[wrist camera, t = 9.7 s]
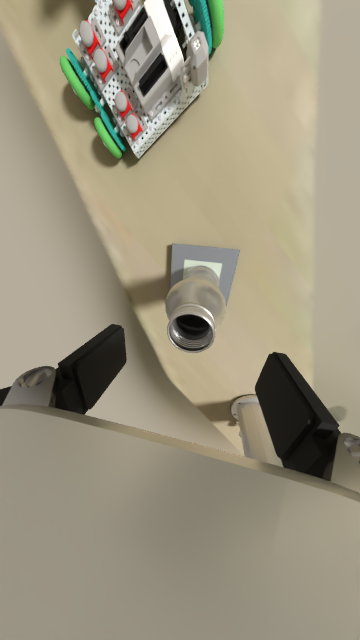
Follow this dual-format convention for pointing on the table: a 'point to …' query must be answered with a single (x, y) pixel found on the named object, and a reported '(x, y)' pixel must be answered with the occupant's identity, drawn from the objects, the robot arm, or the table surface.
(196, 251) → the grey flat square slab
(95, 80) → the robot kit
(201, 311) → the plastic bottle
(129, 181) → the table surface
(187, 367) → the table surface
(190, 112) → the table surface
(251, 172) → the table surface
